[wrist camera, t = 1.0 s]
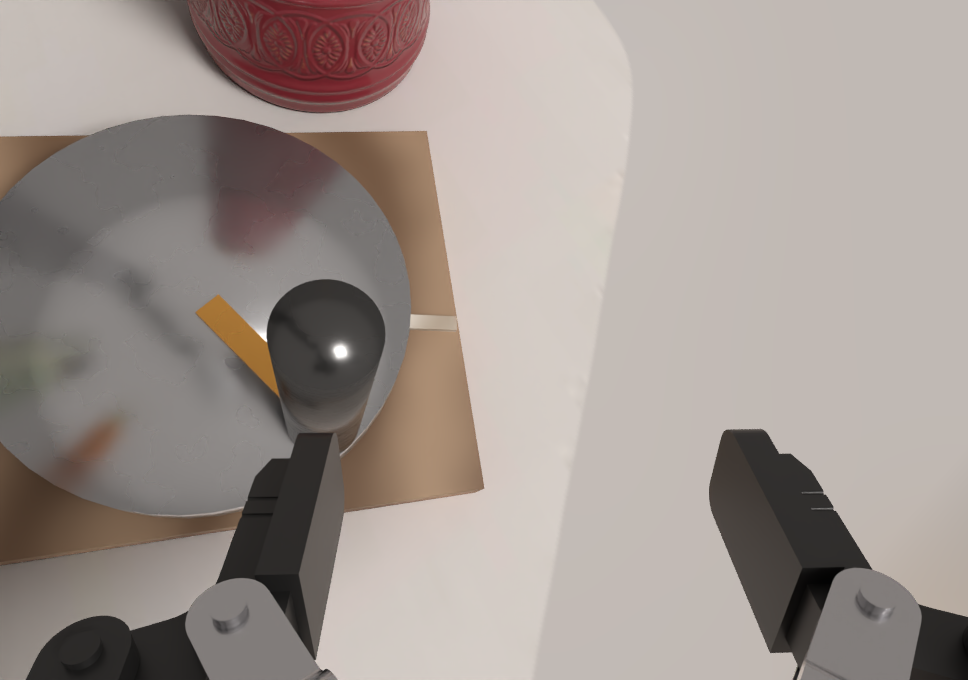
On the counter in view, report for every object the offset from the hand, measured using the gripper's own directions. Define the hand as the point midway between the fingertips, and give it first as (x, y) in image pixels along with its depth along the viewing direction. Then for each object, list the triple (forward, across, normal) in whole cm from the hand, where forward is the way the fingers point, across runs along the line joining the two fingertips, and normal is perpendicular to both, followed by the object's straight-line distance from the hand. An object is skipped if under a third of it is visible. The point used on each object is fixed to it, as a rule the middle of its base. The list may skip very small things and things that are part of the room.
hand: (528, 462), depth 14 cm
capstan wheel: (+17, +13, +6) cm, 22 cm away
